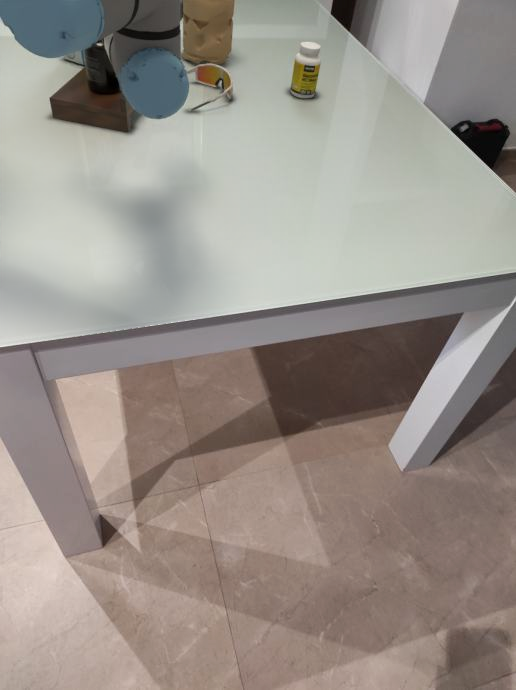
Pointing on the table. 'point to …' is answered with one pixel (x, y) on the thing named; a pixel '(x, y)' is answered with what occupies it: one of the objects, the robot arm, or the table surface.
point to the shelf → (91, 105)
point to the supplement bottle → (100, 70)
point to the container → (207, 30)
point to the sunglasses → (212, 80)
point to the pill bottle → (306, 70)
